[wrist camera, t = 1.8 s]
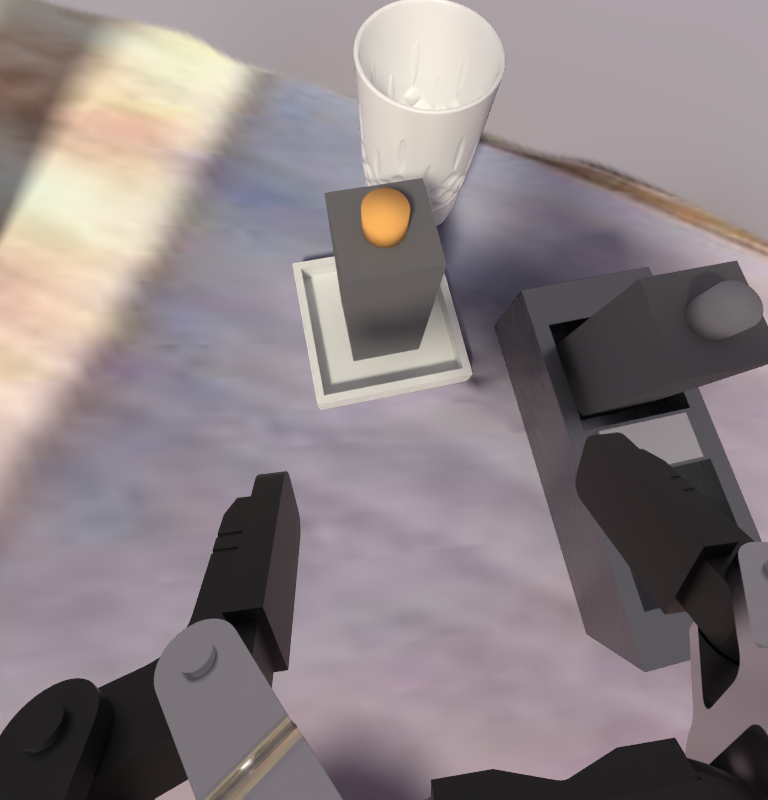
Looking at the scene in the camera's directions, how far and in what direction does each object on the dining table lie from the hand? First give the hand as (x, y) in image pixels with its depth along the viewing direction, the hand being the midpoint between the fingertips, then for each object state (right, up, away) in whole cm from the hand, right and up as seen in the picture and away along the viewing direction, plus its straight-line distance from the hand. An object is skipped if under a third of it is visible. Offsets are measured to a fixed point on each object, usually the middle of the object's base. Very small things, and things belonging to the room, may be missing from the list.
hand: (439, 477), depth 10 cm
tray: (-2, +7, +17) cm, 18 cm away
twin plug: (+11, +3, +15) cm, 19 cm away
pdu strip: (+12, -1, +15) cm, 19 cm away
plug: (-2, +7, +16) cm, 18 cm away
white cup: (+1, +18, +19) cm, 26 cm away
